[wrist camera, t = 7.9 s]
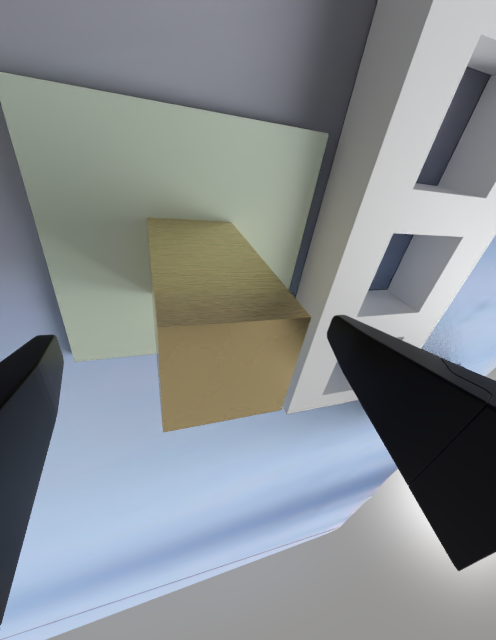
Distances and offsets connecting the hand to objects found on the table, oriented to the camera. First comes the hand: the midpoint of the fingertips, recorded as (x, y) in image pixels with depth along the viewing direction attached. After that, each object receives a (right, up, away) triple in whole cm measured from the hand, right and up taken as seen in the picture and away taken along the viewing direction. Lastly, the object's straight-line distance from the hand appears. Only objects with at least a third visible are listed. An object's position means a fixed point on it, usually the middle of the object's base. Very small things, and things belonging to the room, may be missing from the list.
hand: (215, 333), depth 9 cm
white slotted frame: (+9, +5, +9) cm, 14 cm away
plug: (-2, +3, +5) cm, 6 cm away
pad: (-2, +4, +5) cm, 7 cm away
